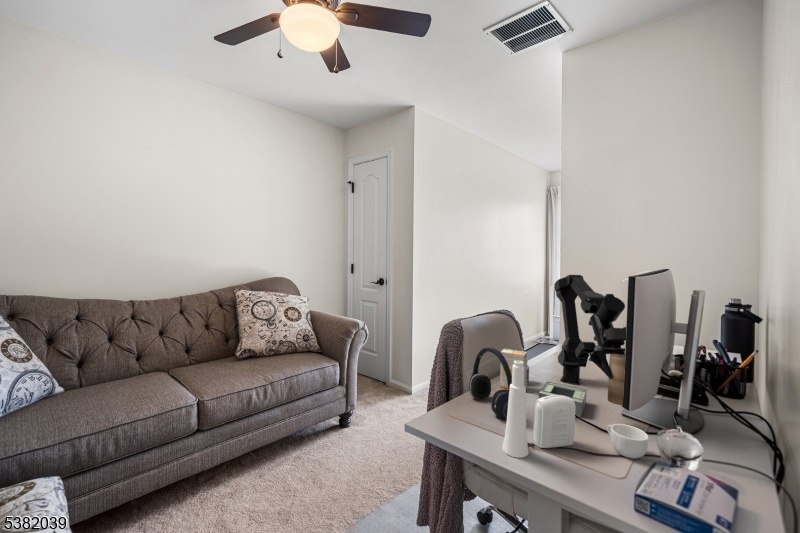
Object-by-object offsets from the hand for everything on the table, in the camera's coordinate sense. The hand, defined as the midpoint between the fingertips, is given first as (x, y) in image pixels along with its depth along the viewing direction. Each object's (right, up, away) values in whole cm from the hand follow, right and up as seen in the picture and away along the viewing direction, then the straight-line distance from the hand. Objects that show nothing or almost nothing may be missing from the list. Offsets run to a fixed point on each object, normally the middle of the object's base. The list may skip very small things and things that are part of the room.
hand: (620, 378), depth 99 cm
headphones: (-33, -13, +11) cm, 37 cm away
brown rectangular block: (0, -7, +2) cm, 7 cm away
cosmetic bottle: (-34, -14, -13) cm, 39 cm away
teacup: (-7, -14, -12) cm, 20 cm away
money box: (-10, -13, +13) cm, 21 cm away
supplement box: (-22, -12, +27) cm, 37 cm away
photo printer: (-23, -14, -9) cm, 28 cm away
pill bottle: (-17, -12, +32) cm, 38 cm away
